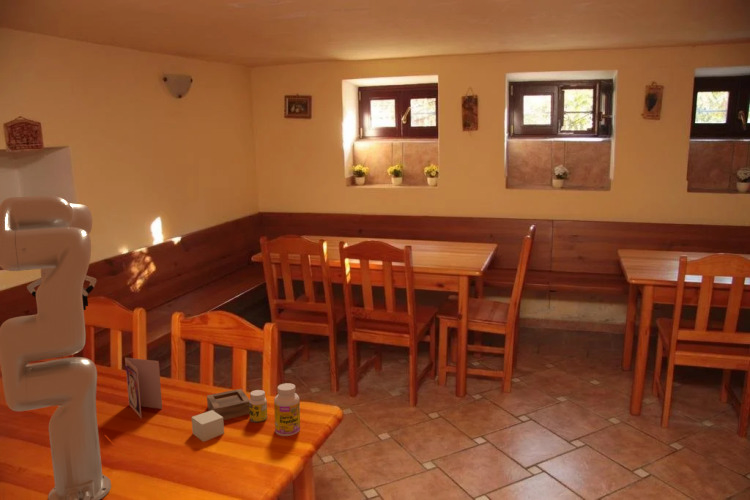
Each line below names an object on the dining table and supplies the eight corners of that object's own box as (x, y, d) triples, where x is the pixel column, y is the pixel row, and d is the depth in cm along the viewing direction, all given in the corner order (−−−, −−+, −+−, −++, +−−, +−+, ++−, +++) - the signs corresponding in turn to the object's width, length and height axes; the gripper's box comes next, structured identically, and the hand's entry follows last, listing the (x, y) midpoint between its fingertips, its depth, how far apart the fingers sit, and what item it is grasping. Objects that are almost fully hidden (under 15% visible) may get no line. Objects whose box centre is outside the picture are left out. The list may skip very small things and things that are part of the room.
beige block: (224, 434, 158) (223, 417, 157) (203, 442, 154) (202, 424, 153) (213, 427, 162) (212, 410, 161) (192, 434, 158) (191, 417, 157)
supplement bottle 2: (276, 439, 155) (274, 393, 152) (274, 428, 161) (272, 383, 159) (302, 436, 156) (300, 390, 154) (298, 424, 163) (297, 380, 160)
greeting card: (126, 406, 175) (121, 358, 172) (151, 399, 180) (147, 352, 177) (138, 420, 166) (134, 369, 164) (164, 412, 171) (161, 363, 168)
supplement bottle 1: (246, 422, 164) (244, 394, 163) (257, 415, 168) (256, 387, 167) (259, 426, 162) (258, 397, 160) (271, 419, 166) (269, 391, 164)
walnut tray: (251, 417, 168) (250, 401, 167) (215, 425, 164) (214, 408, 163) (241, 403, 177) (241, 388, 176) (207, 411, 172) (206, 395, 172)
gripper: (22, 256, 157) (29, 319, 160) (94, 250, 165) (99, 310, 168) (23, 252, 164) (30, 312, 167) (93, 246, 172) (98, 304, 175)
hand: (65, 311), depth 167 cm, fingers open, 9 cm apart
